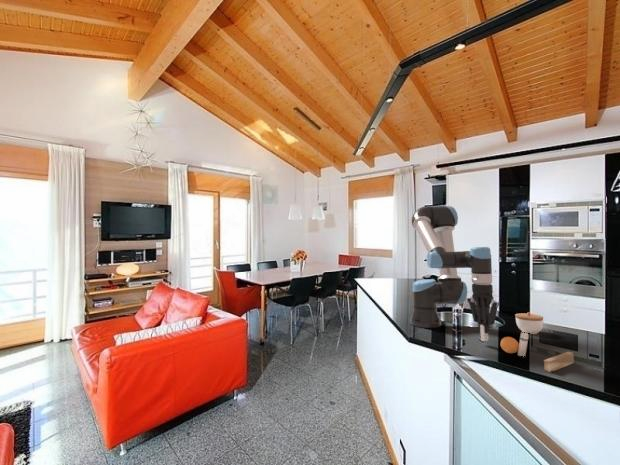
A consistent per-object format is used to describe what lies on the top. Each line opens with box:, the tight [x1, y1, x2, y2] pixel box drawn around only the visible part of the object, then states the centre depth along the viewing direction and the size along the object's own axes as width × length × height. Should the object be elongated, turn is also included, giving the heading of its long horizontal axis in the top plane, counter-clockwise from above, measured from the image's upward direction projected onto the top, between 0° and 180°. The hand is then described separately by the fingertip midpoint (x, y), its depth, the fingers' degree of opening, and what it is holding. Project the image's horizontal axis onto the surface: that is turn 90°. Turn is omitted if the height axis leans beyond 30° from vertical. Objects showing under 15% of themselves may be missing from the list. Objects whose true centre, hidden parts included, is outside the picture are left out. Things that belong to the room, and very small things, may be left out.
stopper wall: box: [543, 351, 575, 373], centre depth 102 cm, size 2×16×4 cm, turn 117°
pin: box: [517, 331, 530, 358], centre depth 112 cm, size 2×2×8 cm
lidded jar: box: [514, 311, 544, 335], centre depth 142 cm, size 11×11×9 cm
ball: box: [500, 336, 519, 354], centre depth 116 cm, size 6×6×6 cm
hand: (484, 340), depth 125 cm, fingers closed
